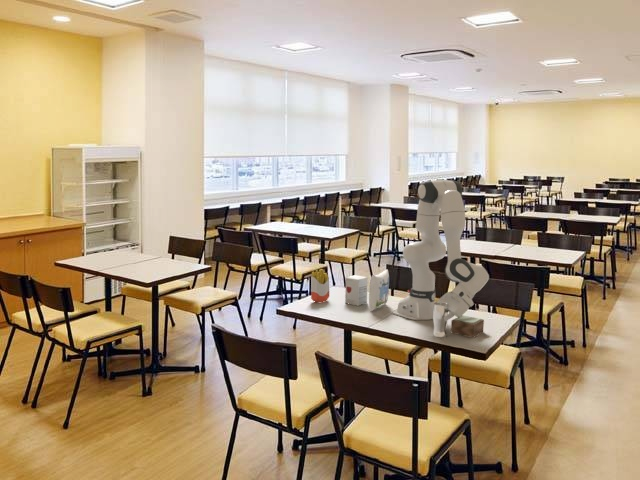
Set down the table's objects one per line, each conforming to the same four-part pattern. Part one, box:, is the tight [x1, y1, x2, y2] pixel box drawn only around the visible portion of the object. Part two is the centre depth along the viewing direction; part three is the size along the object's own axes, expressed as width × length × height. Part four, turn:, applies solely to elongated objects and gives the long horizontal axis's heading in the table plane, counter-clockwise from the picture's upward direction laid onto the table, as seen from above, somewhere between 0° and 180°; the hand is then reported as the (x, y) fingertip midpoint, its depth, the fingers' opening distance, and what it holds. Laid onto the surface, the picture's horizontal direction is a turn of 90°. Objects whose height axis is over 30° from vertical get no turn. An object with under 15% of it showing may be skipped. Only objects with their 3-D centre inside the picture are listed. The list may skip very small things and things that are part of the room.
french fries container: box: [310, 268, 330, 303], centre depth 322 cm, size 5×11×18 cm, turn 139°
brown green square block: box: [450, 315, 485, 338], centre depth 268 cm, size 11×11×6 cm
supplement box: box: [344, 274, 369, 306], centre depth 319 cm, size 9×9×15 cm
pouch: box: [368, 268, 390, 312], centre depth 310 cm, size 8×19×20 cm, turn 146°
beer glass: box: [432, 301, 449, 339], centre depth 262 cm, size 7×7×15 cm
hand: (440, 317), depth 262 cm, fingers open, 8 cm apart
